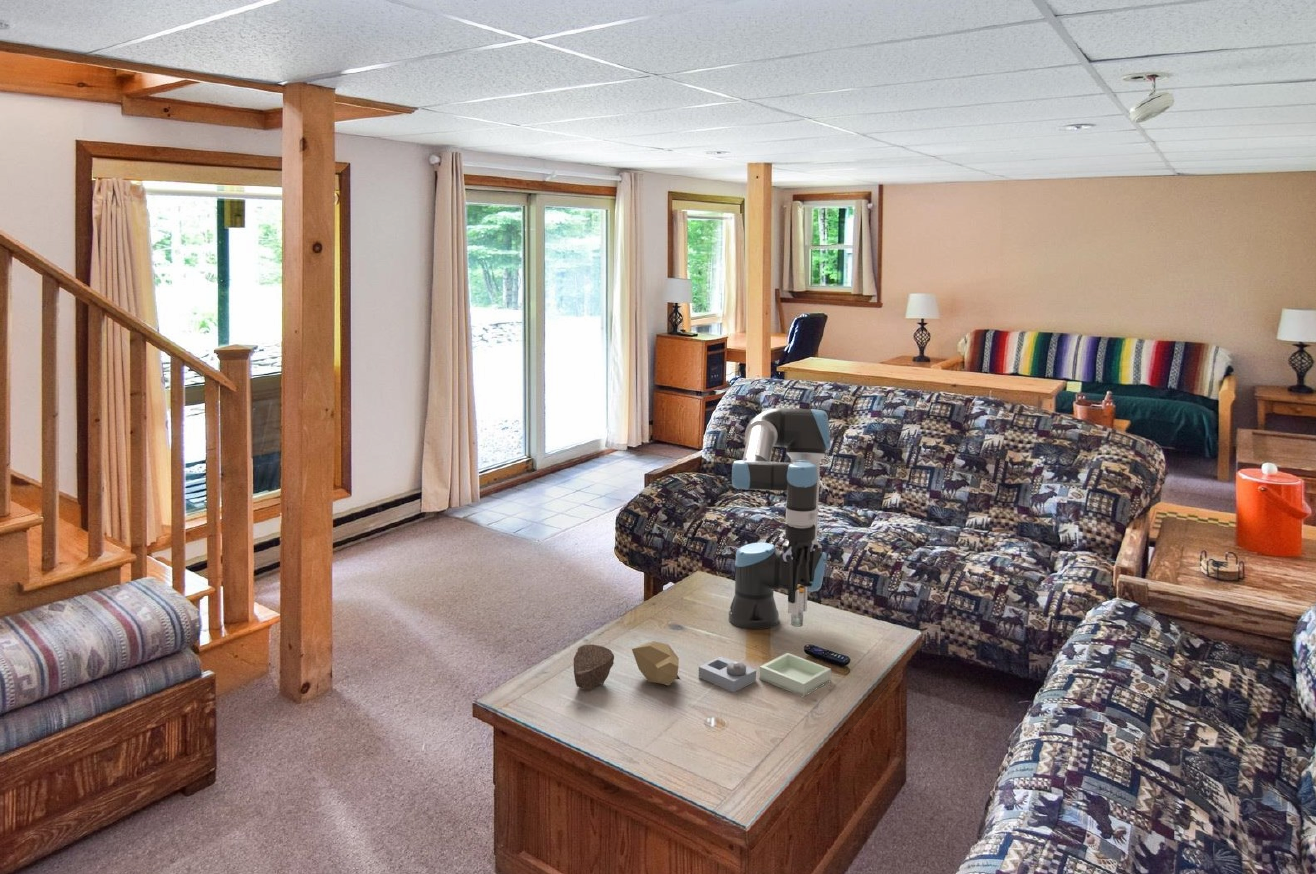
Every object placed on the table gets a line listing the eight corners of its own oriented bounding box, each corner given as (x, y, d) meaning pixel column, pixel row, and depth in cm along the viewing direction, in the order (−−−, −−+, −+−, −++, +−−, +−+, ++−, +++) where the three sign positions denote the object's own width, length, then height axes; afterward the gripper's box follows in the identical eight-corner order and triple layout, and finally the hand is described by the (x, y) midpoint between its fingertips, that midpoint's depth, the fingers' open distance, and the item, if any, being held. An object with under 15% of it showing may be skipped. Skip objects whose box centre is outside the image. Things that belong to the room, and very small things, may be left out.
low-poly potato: (636, 670, 251) (617, 666, 241) (656, 634, 252) (638, 629, 242) (680, 699, 244) (663, 697, 234) (701, 662, 245) (684, 658, 235)
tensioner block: (698, 677, 247) (698, 657, 246) (720, 666, 253) (721, 647, 252) (733, 692, 239) (734, 672, 237) (755, 680, 245) (756, 661, 244)
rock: (587, 686, 231) (561, 656, 235) (577, 705, 238) (552, 676, 242) (622, 659, 239) (596, 631, 243) (612, 679, 246) (587, 651, 250)
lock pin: (788, 624, 242) (790, 587, 240) (795, 621, 244) (797, 584, 242) (798, 627, 240) (799, 590, 238) (805, 624, 242) (806, 587, 240)
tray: (759, 679, 246) (759, 666, 245) (787, 664, 254) (787, 652, 254) (803, 696, 236) (803, 684, 236) (830, 681, 245) (830, 668, 244)
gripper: (793, 533, 228) (790, 624, 233) (831, 520, 240) (827, 607, 244) (769, 527, 234) (766, 616, 238) (807, 514, 245) (803, 599, 250)
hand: (797, 611), depth 241 cm, fingers closed on lock pin, 3 cm apart
